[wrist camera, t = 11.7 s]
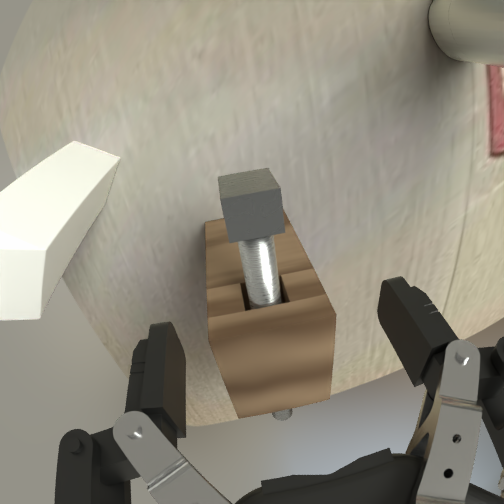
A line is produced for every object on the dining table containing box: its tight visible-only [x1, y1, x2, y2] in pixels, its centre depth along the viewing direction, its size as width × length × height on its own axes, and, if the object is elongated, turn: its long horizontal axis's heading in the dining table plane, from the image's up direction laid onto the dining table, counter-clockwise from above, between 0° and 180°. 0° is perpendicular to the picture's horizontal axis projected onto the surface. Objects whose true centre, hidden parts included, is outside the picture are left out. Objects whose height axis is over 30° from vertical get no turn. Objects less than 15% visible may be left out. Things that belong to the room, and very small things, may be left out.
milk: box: [0, 141, 120, 320], centre depth 22 cm, size 6×6×22 cm
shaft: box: [218, 168, 292, 421], centre depth 28 cm, size 29×4×4 cm, turn 8°
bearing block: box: [205, 210, 336, 418], centre depth 32 cm, size 12×9×18 cm
